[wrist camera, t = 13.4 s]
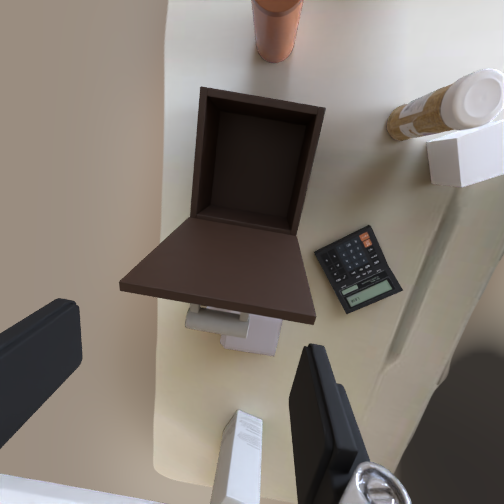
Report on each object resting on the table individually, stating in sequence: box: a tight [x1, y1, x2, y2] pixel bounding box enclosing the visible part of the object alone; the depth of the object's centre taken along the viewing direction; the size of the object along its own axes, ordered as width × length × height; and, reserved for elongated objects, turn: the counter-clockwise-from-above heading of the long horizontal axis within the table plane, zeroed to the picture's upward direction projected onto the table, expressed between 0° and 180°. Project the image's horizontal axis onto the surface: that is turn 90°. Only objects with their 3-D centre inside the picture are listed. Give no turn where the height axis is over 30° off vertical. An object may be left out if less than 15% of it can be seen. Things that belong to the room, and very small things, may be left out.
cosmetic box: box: [210, 410, 263, 504], centre depth 48 cm, size 8×7×16 cm
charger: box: [207, 306, 283, 356], centre depth 44 cm, size 5×9×15 cm
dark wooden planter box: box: [190, 87, 326, 236], centre depth 33 cm, size 15×14×9 cm
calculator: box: [314, 225, 403, 314], centre depth 40 cm, size 9×12×3 cm
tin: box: [251, 0, 303, 63], centre depth 26 cm, size 5×5×12 cm
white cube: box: [426, 120, 504, 188], centre depth 32 cm, size 6×6×6 cm
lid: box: [119, 217, 316, 339], centre depth 25 cm, size 15×14×5 cm
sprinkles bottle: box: [387, 69, 504, 141], centre depth 28 cm, size 5×5×14 cm
